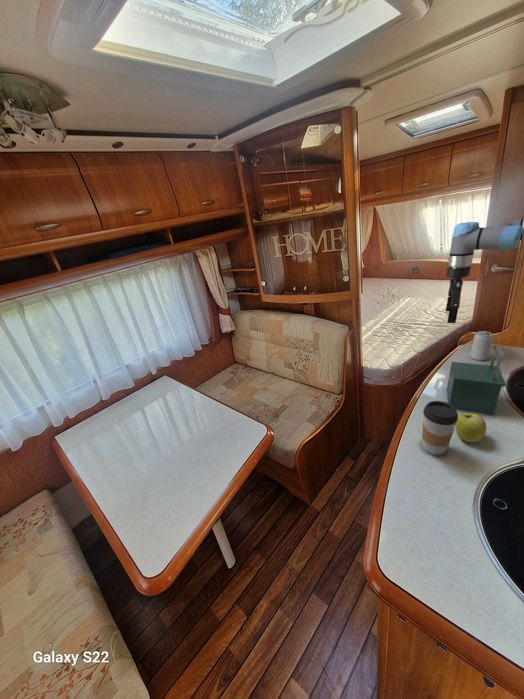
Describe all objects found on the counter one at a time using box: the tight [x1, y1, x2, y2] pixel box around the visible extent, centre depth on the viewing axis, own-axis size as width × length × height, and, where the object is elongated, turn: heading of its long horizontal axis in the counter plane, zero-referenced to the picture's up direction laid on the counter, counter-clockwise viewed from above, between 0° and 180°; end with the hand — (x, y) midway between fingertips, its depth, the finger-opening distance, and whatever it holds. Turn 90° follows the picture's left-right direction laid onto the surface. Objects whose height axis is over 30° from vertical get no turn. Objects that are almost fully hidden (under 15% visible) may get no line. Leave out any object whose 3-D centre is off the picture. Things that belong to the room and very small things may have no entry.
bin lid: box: [451, 344, 507, 388], centre depth 91 cm, size 13×12×10 cm
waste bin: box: [446, 363, 503, 416], centre depth 96 cm, size 13×12×12 cm
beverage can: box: [469, 330, 494, 361], centre depth 119 cm, size 6×6×12 cm
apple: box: [454, 412, 487, 443], centre depth 83 cm, size 8×8×10 cm
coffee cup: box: [421, 400, 459, 456], centre depth 80 cm, size 8×8×15 cm
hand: (450, 316), depth 115 cm, fingers open, 13 cm apart
